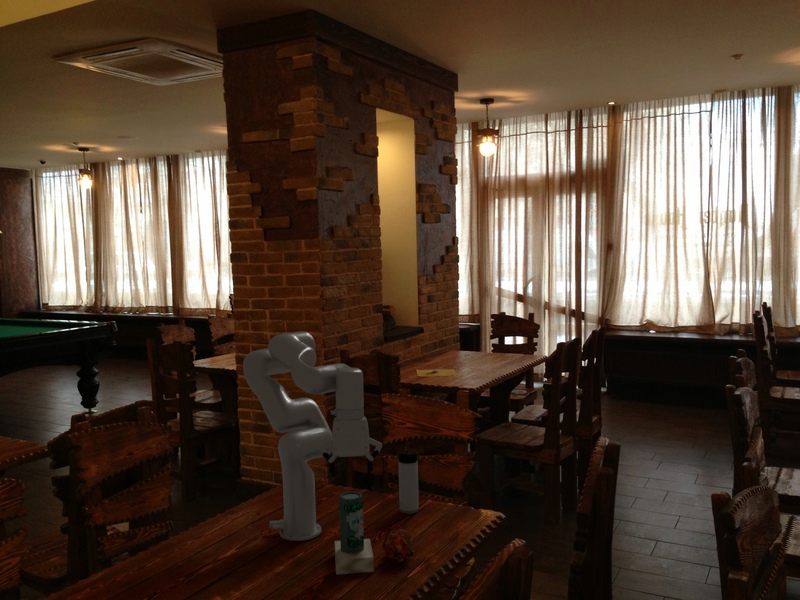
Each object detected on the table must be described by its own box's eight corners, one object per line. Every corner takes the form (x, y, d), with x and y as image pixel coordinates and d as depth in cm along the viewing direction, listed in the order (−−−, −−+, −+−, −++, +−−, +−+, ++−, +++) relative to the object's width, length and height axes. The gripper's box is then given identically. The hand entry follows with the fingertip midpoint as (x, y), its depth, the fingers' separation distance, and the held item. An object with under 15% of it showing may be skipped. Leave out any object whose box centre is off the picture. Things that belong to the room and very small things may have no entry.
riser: (336, 574, 185) (335, 560, 185) (335, 554, 197) (334, 541, 197) (373, 571, 186) (373, 557, 186) (370, 552, 198) (369, 538, 198)
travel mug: (396, 513, 227) (394, 453, 225) (403, 506, 233) (402, 447, 231) (414, 515, 224) (413, 454, 223) (421, 508, 231) (420, 449, 229)
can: (354, 555, 187) (353, 501, 186) (336, 550, 191) (335, 497, 189) (367, 546, 192) (366, 494, 191) (350, 542, 196) (348, 490, 195)
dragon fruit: (400, 553, 200) (401, 579, 189) (376, 538, 199) (375, 563, 188) (417, 531, 199) (419, 556, 187) (393, 516, 198) (393, 540, 186)
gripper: (317, 418, 185) (319, 481, 187) (382, 415, 187) (383, 477, 188) (318, 411, 193) (319, 471, 194) (380, 409, 194) (381, 468, 196)
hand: (351, 474), depth 191 cm, fingers open, 9 cm apart
